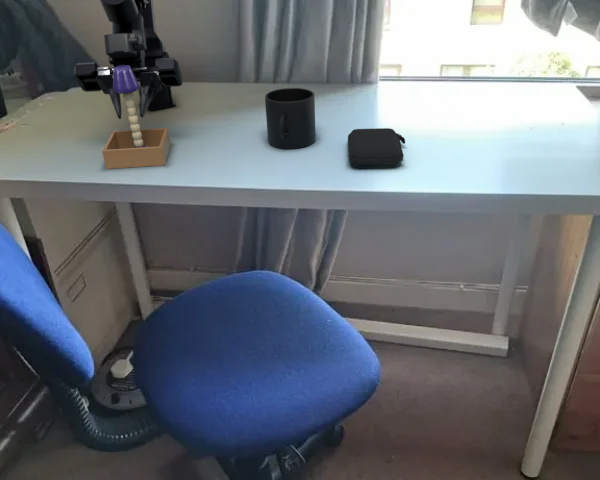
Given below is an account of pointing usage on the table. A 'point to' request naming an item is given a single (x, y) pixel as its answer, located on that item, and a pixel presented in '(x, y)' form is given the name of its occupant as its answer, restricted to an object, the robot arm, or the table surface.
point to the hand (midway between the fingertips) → (130, 117)
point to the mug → (290, 117)
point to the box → (137, 149)
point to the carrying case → (375, 148)
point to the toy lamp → (128, 98)
